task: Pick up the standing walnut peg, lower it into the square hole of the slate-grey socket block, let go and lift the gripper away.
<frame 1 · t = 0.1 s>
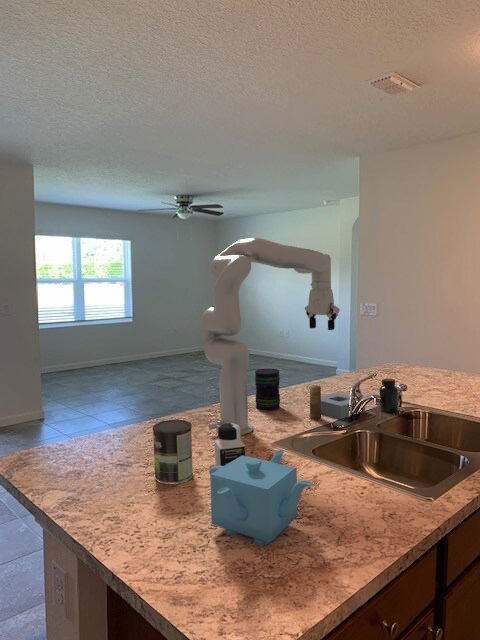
hand: (321, 328, 187), 31 cm above the worktop, tool pointing down, fingers open, 9 cm apart
medicine bottle: (230, 467, 131), on the worktop
supplement bottle: (388, 410, 181), on the worktop
coffee can: (174, 477, 126), on the worktop
socket: (338, 411, 181), on the worktop
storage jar: (267, 408, 189), on the worktop
teakettle: (259, 530, 99), on the worktop
peg: (315, 418, 173), on the worktop
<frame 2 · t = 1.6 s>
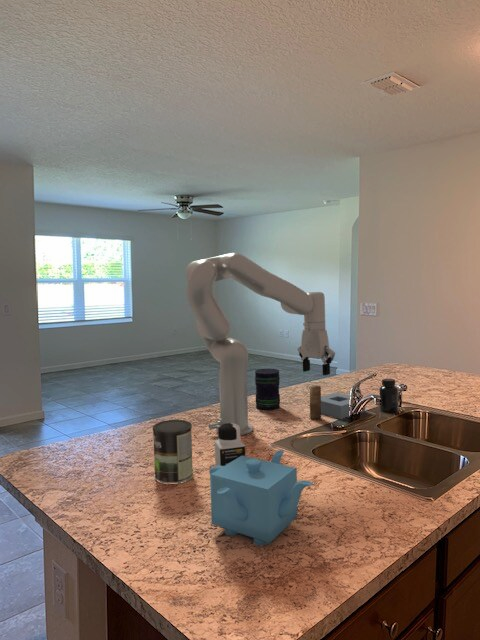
hand: (316, 372, 172), 17 cm above the worktop, tool pointing down, fingers open, 9 cm apart
nothing on the worktop moved.
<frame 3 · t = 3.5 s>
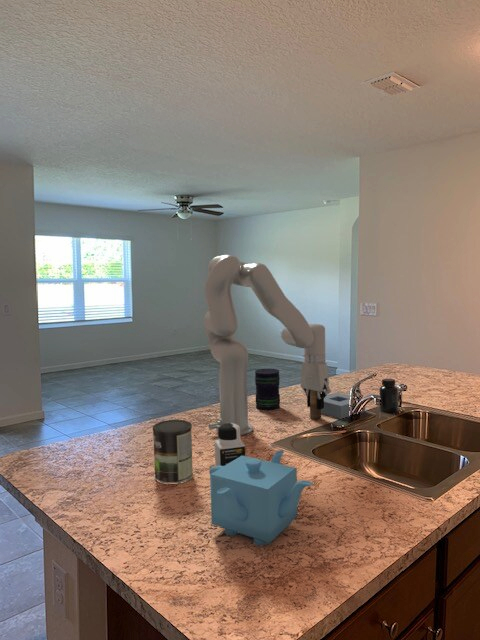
hand: (315, 407, 173), 4 cm above the worktop, tool pointing down, fingers closed on peg, 4 cm apart
peg: (315, 418, 173), on the worktop, touching gripper
everything else where it was.
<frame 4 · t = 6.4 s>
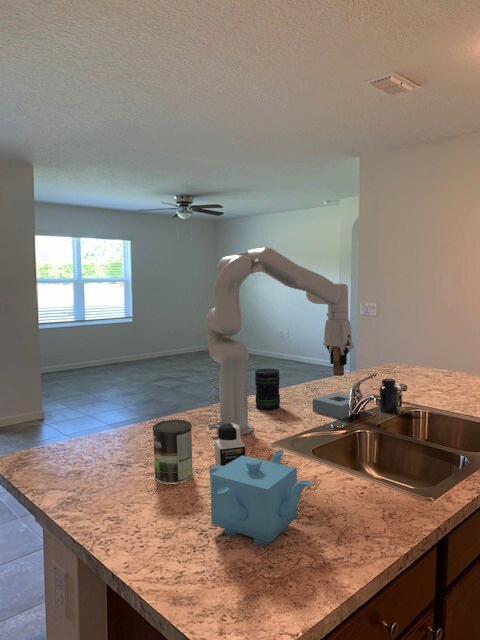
hand: (338, 363, 179), 19 cm above the worktop, tool pointing down, fingers closed on peg, 4 cm apart
peg: (338, 374, 180), point 14 cm above the worktop, touching gripper
everything else where it was.
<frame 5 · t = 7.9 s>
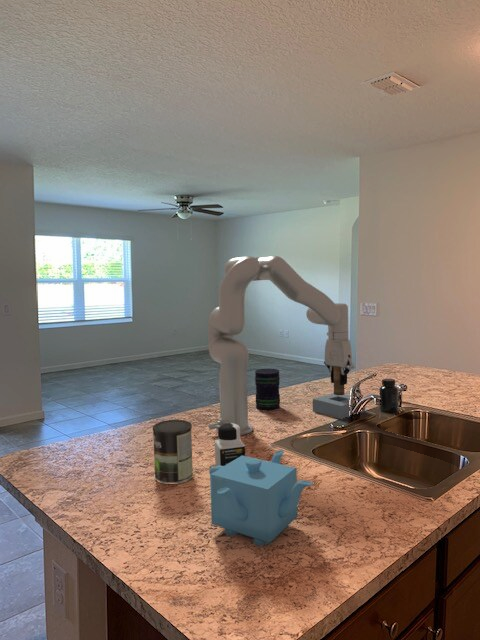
hand: (338, 383, 180), 11 cm above the worktop, tool pointing down, fingers closed on peg, 4 cm apart
peg: (339, 393, 180), point 7 cm above the worktop, touching gripper
everything else where it was.
when the fingers open (6 cm above the worktop, at t = 9.4 s): peg stays where it is, resting on socket.
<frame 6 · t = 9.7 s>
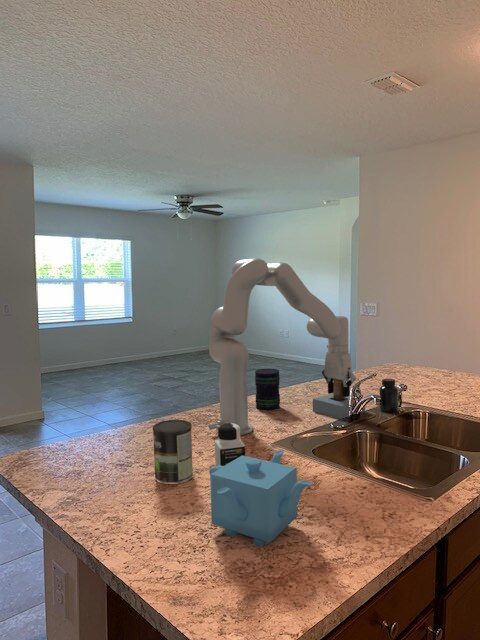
hand: (338, 394, 180), 7 cm above the worktop, tool pointing down, fingers open, 6 cm apart
peg: (338, 409, 181), point 1 cm above the worktop, touching socket
everything else where it was.
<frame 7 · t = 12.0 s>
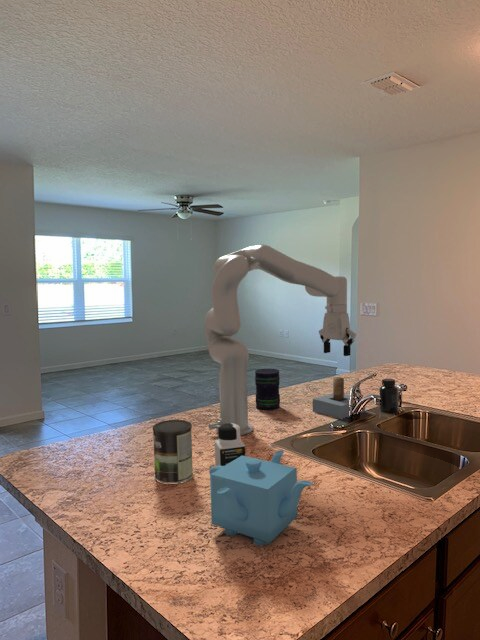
hand: (336, 354, 179), 22 cm above the worktop, tool pointing down, fingers open, 9 cm apart
nothing on the worktop moved.
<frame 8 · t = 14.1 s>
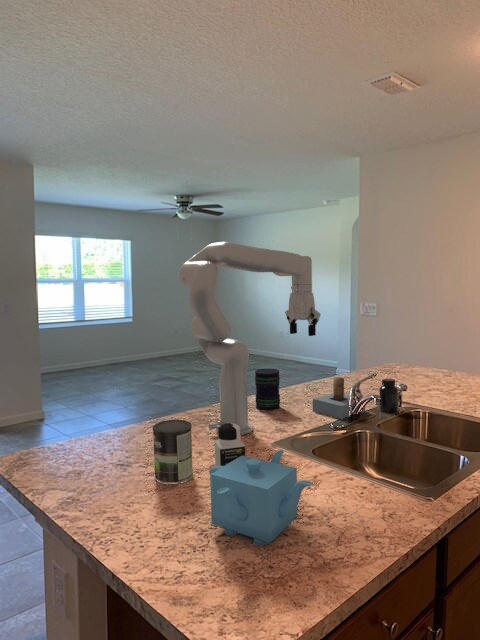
hand: (302, 334, 178), 30 cm above the worktop, tool pointing down, fingers open, 9 cm apart
nothing on the worktop moved.
at the end: peg 0.0 cm off-centre on the socket, point 1.0 cm above the socket's base; peg tilted 0°; the gripper is holding nothing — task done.
